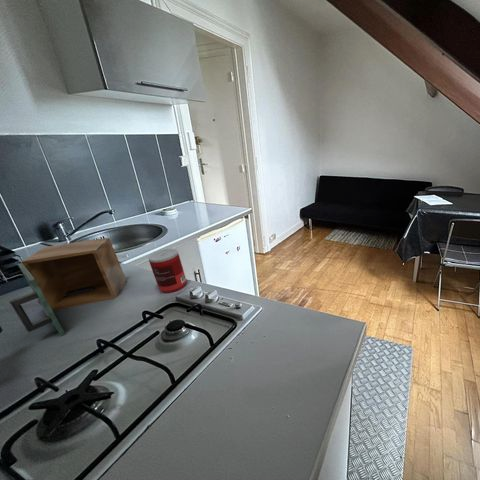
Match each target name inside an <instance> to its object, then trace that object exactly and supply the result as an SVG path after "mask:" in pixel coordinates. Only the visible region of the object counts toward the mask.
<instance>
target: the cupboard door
mask: <svg viewBox="0 0 480 480" xmlns="http://www.w3.org/2000/svg"><path fill="white" fill-rule="evenodd" d="M17 266H18V267H19V269H20V271H21V273H22V275H23V277H24V278H25V280H26V281H27V284H28V285H29V287H30V289H31V291H32V292H31V293H28V294H25V295H23V296H20V297H17V298H14V299H11V300H9V302H8V303H9V304H10V306H11V307H12V309H13V310H14V313H15V314H16V316H17V318H18V319H19V321H21V323H22V325H23V327H24V328H25V330H26V331H27V332H28V333H29V332H32V331H34V330H37V329H39V328H42V327H44V326H47V325H48V324H52V326H53V327H54V328H55V329H56V331H57V333H58V334H59V335H60V337H62V336H65V335H66V332H65V330H64V328H63V327H62V325H61V323H60V322H59V320H58V318H57V315H55V312H54V311H52V309H51V307H50V305H49V304H48V302H47V300H46V298H45V297H44V295H43V293H42V291H41V289H40V288H39V286H38V284H37V282H36V280H35V279H34V278H33V276H32V275H31V274H30V272H29V271H28V270H27V269H26V267H25V266H24V265H23V263H22V262H20V263H17ZM36 299H37V301H38V303H39V304H40V306H41V308H42V309H43V311H44V313H45V315H46V317H43V318H41V319H39V320H37V321H34V322H32V321H31V319H30V317H29V316H28V314H27V313H26V310H25V309H24V308H23V306H22V305H23V304H26V303H28V302H31V301H34V300H36Z"/></svg>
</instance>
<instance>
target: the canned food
mask: <svg viewBox="0 0 480 480" xmlns="http://www.w3.org/2000/svg"><path fill="white" fill-rule="evenodd" d="M148 262H149V265H150V268H151V270H152V274H153V276H154V280H155V282H156V284H157V287H158V290H159V291H160V292H161V293H164V294H171V293H175V292H178V291H180V290H181V289H183V288H184V287H186V285H187V277H186V274H185V270H184V267H183V264H182V260H181V256H180V254H179V252H178V249H175V248H167V249H161V250H158V251H155V252H154V253H151V254H150V255H149V256H148Z"/></svg>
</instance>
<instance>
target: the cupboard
mask: <svg viewBox="0 0 480 480" xmlns="http://www.w3.org/2000/svg"><path fill="white" fill-rule="evenodd" d="M21 263H23V265H24V266H25V267H26V269H27V270H28V271H29V272H30V274H31V275H32V276H33V278H34V279H35V280H36V282H37V284H38V286H39V288H40V289H41V291H42V293H43V295H44V297H45V298H46V300H47V302H48V304H49V305H50V307H51V309H52V311H53V312H56V311H61V310H65V309H71V308H75V307H80V306H83V305H89V304H94V303H95V304H96V303H99V302H104V301H108V300H109V301H110V300H113V299H117V297H119V294H120V293H121V292H122V290H123V288H124V287H125V285H126V284H127V282H128V281H127V278H126V276H125V273H124V271H123V268H122V266H121V263H120V261H119V259H118V256H117V254H116V251H115V249H114V246H113V243H112V241H111V239H110V237H102V238H96V239H90V240H89V239H88V240H82V241H77V242H76V241H75V242H70V243H63V244H57V245H48V246H44V247H42V248H40V249H39V250H38V251H36V252H34V253H33V254H31V255H29V256H28V257H26V258H25V259H23V260H22V261H21ZM91 287H93V288H92V289H90V290H86V291H81V292H76V293H71V294H67V293H68V292H70V291H75V290H80V289H86V288H91Z"/></svg>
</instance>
